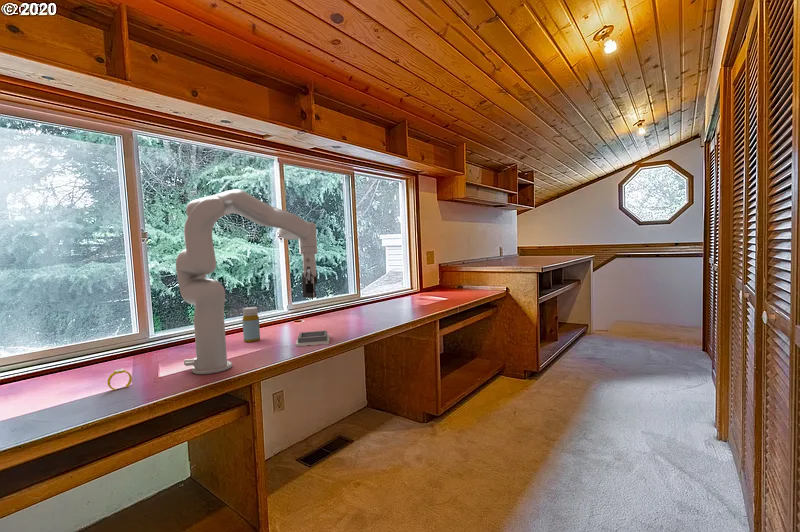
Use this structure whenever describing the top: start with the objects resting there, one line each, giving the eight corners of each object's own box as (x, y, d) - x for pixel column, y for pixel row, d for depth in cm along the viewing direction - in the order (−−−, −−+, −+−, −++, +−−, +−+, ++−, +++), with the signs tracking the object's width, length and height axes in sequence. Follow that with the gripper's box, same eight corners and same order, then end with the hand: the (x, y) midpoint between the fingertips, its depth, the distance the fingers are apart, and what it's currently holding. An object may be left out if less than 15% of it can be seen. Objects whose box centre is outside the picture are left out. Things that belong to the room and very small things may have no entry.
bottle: (253, 338, 185) (252, 306, 185) (263, 339, 181) (261, 307, 181) (240, 341, 180) (238, 308, 179) (250, 343, 176) (247, 309, 175)
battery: (319, 297, 172) (318, 271, 172) (312, 298, 169) (311, 271, 169) (309, 296, 176) (307, 271, 176) (302, 297, 173) (300, 271, 173)
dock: (295, 346, 165) (294, 339, 165) (298, 339, 179) (297, 332, 179) (329, 344, 168) (328, 336, 167) (329, 336, 181) (329, 329, 181)
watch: (130, 386, 125) (130, 367, 125) (132, 388, 123) (132, 368, 123) (106, 390, 120) (107, 371, 120) (109, 392, 119) (109, 372, 119)
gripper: (316, 250, 163) (318, 293, 164) (317, 250, 181) (320, 289, 181) (297, 251, 162) (300, 294, 163) (301, 251, 179) (303, 290, 180)
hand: (310, 291), depth 172 cm, fingers closed on battery, 6 cm apart
